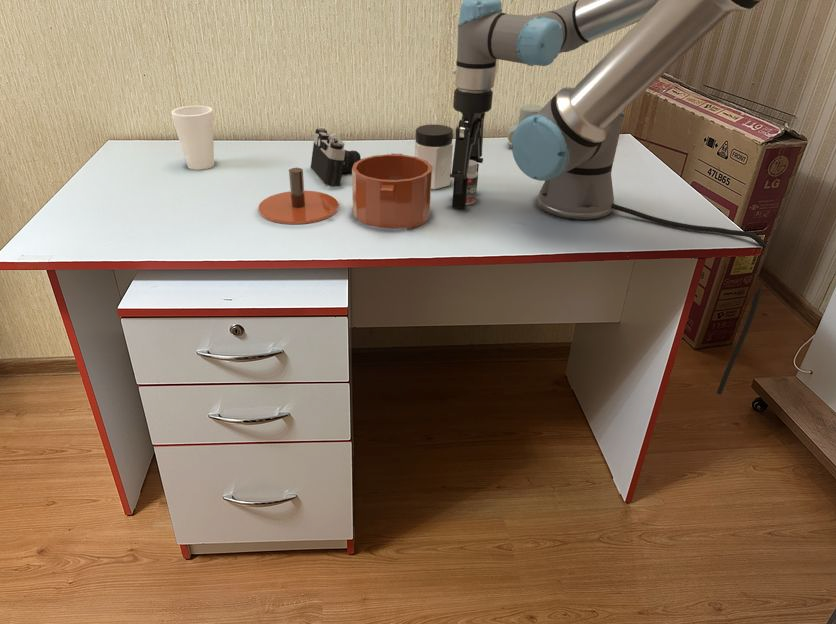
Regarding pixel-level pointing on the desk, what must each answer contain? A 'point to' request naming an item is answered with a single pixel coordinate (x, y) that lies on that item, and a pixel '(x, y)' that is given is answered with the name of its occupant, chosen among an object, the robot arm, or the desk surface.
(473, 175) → the pill bottle
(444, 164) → the jar
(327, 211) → the lid
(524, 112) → the air freshener
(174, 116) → the foam cup
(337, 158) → the camera
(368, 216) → the pot
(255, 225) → the desk surface
